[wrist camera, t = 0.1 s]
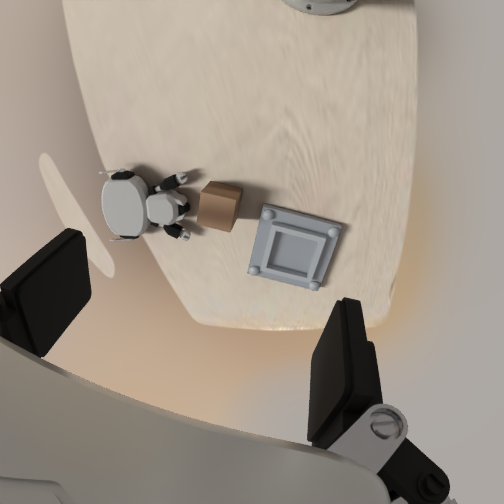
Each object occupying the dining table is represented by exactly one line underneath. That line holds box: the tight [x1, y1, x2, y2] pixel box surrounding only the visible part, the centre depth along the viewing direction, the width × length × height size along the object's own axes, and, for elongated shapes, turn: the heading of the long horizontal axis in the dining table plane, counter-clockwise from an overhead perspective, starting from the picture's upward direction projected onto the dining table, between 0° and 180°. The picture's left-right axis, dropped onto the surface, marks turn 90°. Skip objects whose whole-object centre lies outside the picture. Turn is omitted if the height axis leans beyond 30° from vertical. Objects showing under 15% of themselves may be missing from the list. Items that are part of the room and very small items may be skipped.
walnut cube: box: [196, 181, 243, 232], centre depth 47 cm, size 5×5×5 cm
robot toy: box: [100, 169, 191, 242], centre depth 49 cm, size 12×4×15 cm
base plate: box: [247, 204, 342, 291], centre depth 50 cm, size 12×12×2 cm
